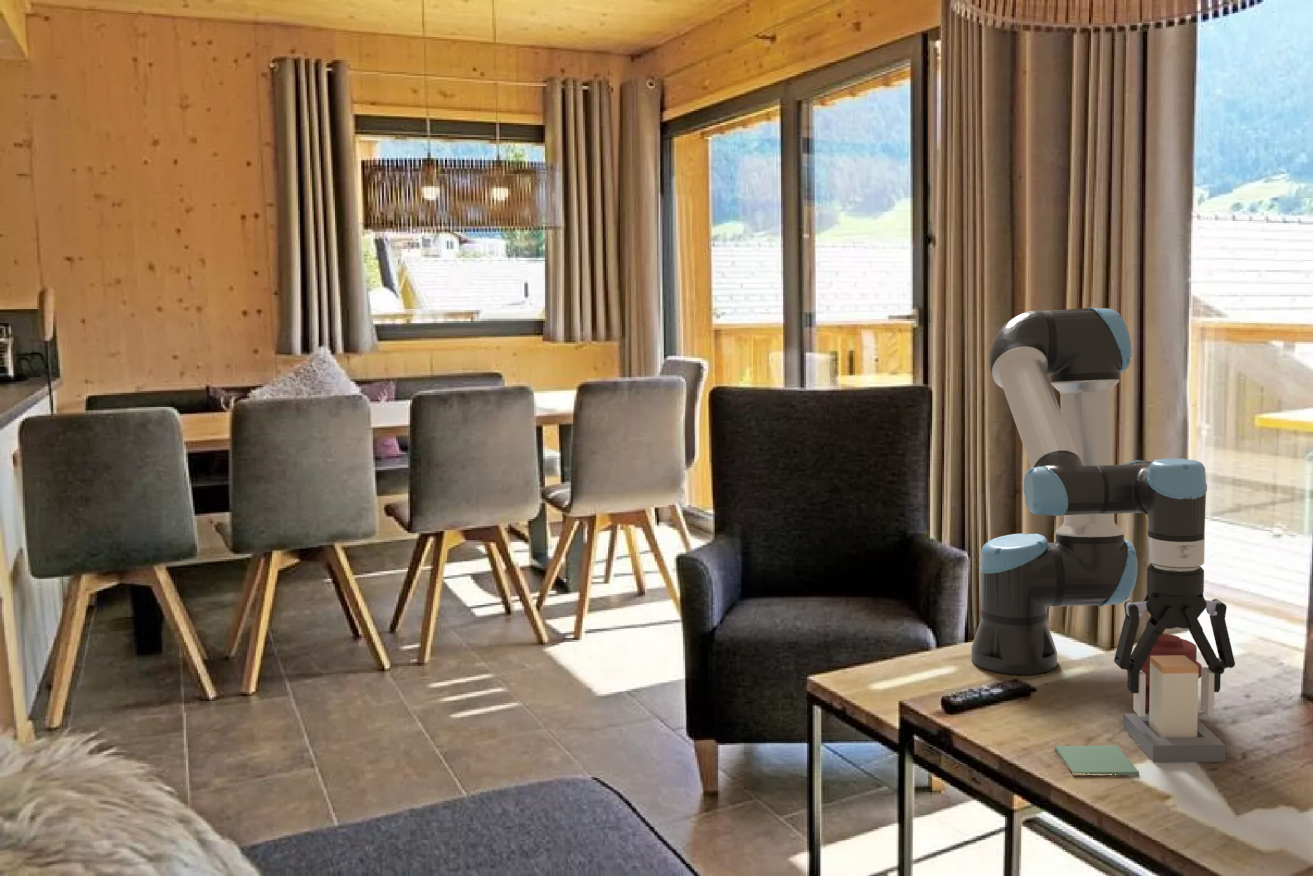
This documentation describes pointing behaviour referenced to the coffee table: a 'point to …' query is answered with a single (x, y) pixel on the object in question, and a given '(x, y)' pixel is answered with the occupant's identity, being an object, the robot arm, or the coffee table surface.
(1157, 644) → the mechanical component
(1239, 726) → the coffee table surface
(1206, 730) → the grey square frame
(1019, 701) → the coffee table surface
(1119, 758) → the mat
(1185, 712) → the plug
